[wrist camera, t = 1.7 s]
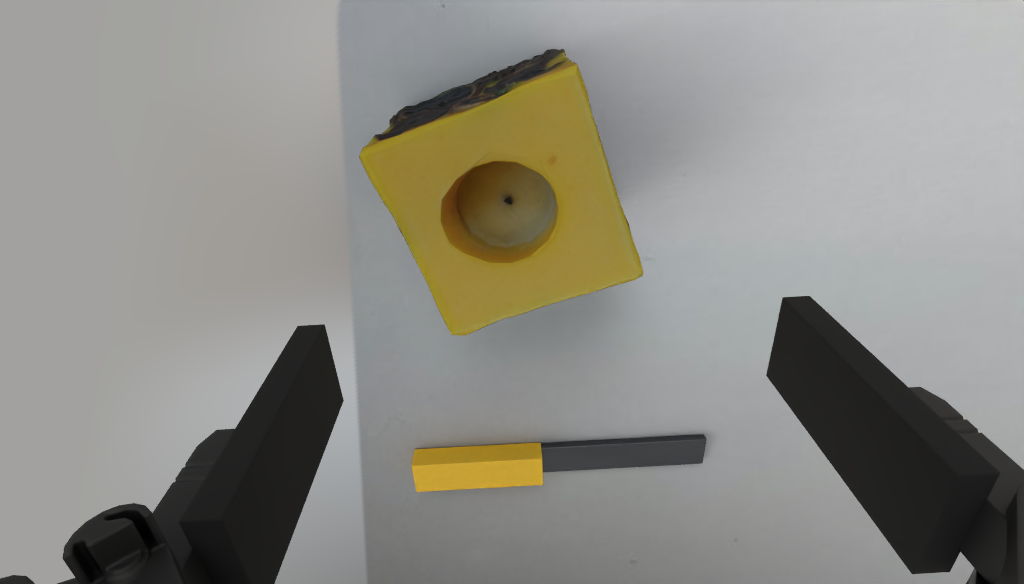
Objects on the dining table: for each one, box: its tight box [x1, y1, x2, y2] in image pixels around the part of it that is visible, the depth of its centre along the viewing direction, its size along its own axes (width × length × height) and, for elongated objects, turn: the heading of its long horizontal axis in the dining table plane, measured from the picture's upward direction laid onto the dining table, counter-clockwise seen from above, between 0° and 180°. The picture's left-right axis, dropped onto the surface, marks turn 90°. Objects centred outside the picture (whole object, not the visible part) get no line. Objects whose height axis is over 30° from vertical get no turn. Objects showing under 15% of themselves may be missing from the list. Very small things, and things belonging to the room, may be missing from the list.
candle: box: [359, 49, 643, 335], centre depth 28 cm, size 10×10×10 cm
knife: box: [412, 435, 706, 492], centre depth 43 cm, size 23×3×2 cm, turn 93°
